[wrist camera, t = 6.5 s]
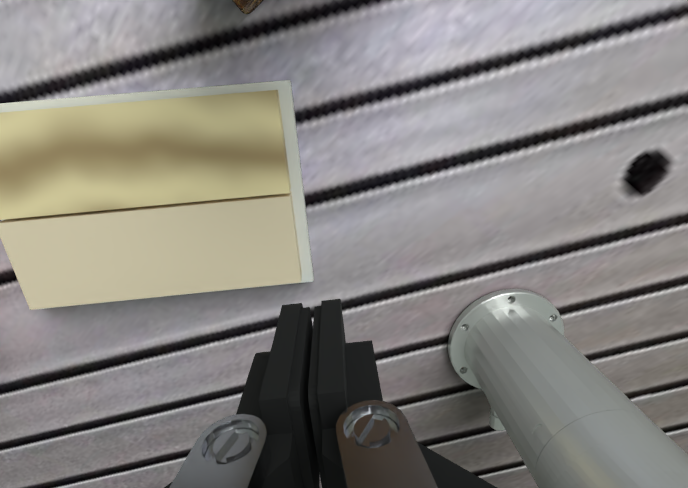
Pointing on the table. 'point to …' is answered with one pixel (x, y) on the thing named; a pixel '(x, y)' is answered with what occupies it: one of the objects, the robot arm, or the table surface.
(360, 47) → the table surface
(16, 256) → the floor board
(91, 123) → the honey plank
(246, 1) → the book
